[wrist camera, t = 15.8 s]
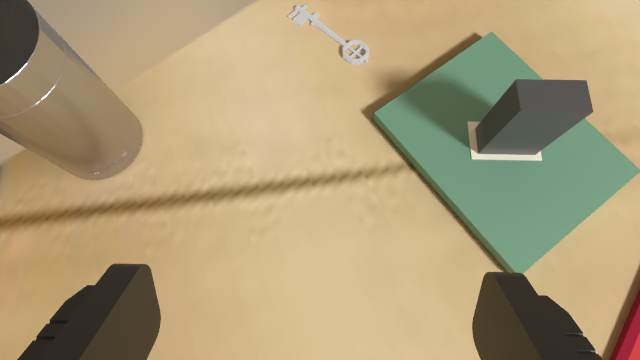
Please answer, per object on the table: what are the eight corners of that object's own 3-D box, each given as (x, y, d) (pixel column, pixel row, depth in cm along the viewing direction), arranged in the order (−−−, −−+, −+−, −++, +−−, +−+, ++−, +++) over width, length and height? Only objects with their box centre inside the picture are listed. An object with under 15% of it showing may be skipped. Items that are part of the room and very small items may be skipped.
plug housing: (535, 155, 42) (593, 111, 33) (478, 153, 42) (520, 110, 33) (530, 129, 43) (586, 80, 34) (475, 128, 43) (515, 79, 34)
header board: (372, 119, 45) (377, 98, 41) (486, 39, 49) (502, 13, 44) (512, 277, 40) (535, 273, 35) (630, 175, 43) (664, 160, 39)
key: (357, 72, 48) (375, 55, 48) (358, 67, 47) (376, 50, 47) (286, 18, 50) (304, 2, 51) (285, 12, 49) (304, -4, 50)
